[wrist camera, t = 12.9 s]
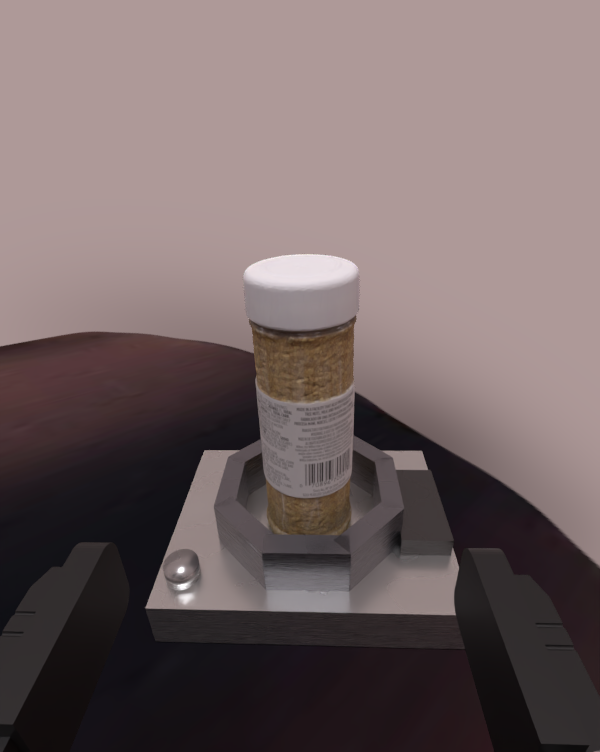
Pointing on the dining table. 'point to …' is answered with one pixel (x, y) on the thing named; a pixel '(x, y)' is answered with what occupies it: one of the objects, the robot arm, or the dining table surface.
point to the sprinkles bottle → (305, 387)
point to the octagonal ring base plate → (310, 562)
